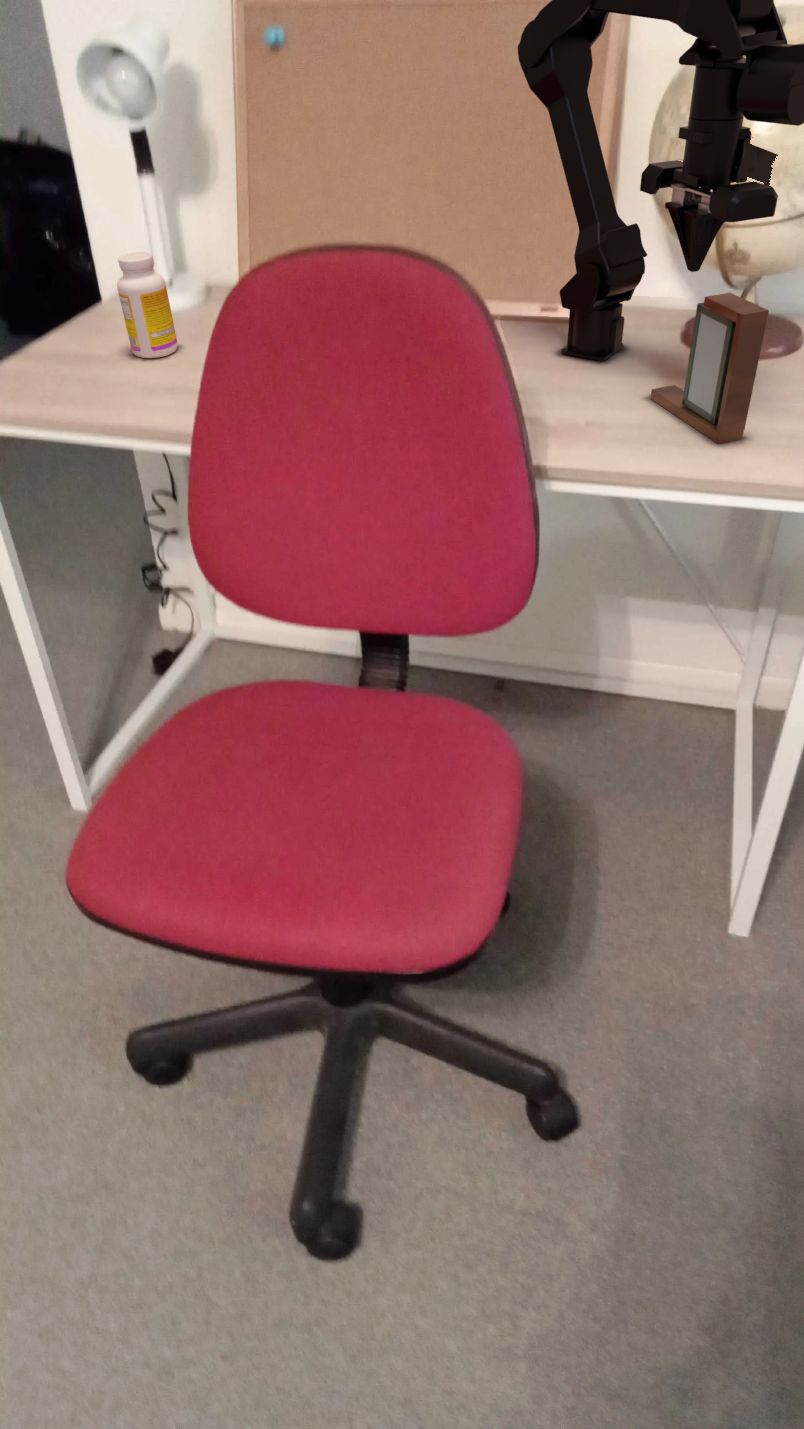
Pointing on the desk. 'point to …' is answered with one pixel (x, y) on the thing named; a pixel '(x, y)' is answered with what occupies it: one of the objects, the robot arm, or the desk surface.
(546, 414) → the desk surface
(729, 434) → the window frame
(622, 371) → the desk surface
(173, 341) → the supplement bottle
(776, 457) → the desk surface
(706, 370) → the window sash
